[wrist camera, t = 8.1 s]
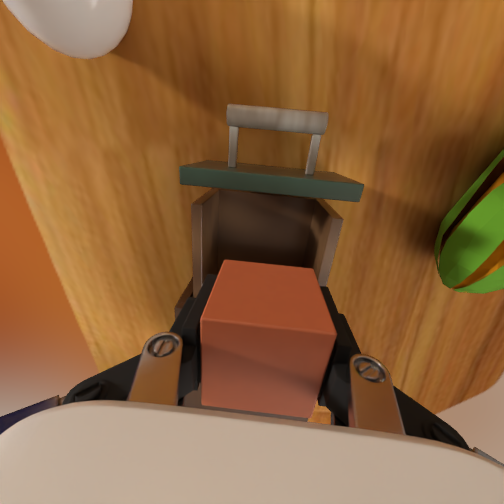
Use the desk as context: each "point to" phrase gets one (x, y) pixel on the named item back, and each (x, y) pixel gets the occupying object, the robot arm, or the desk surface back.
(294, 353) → the block
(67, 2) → the flower vase
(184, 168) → the drawer
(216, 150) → the desk surface
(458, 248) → the corn
